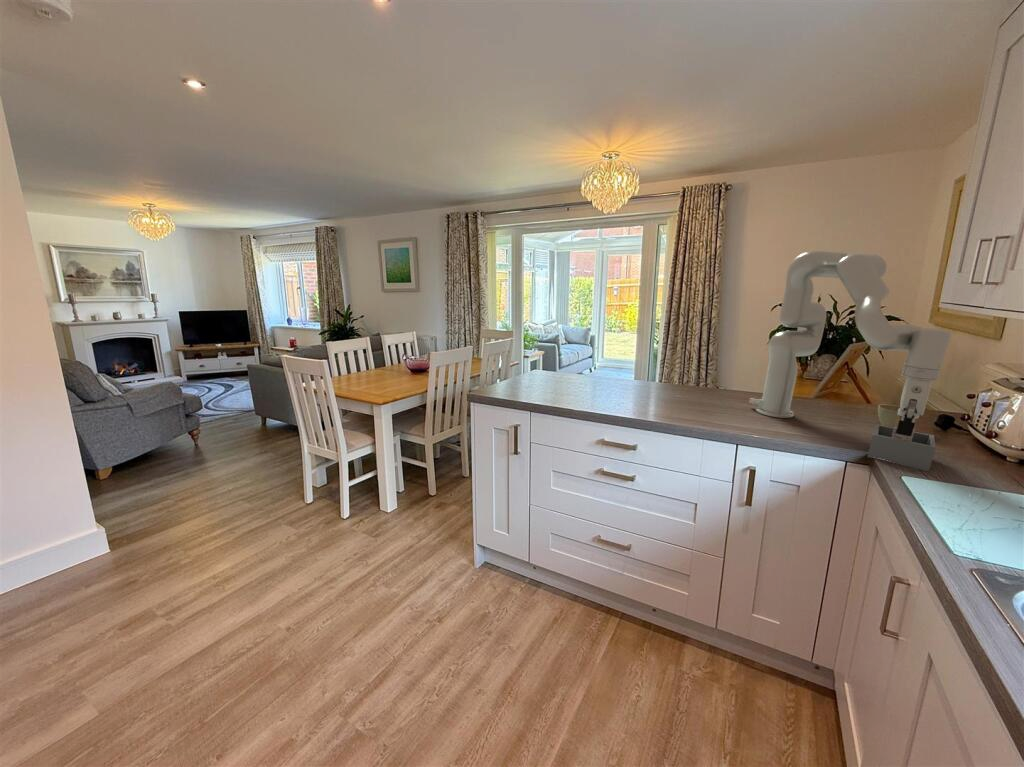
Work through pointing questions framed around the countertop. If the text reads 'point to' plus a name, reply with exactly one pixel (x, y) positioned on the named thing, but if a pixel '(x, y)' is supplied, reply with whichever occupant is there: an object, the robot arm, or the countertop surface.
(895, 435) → the sprinkles bottle
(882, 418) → the pale green bowl
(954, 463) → the countertop surface
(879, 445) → the bin
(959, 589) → the countertop surface
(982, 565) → the countertop surface
